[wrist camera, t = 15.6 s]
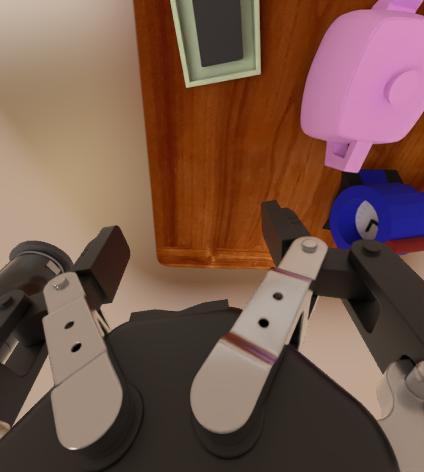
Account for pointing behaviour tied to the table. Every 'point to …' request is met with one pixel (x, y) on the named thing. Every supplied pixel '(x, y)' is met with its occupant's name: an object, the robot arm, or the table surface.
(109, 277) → the robot arm
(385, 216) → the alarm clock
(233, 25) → the black rectangular block
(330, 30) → the teapot
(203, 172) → the table surface
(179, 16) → the pale green tray
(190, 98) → the table surface
